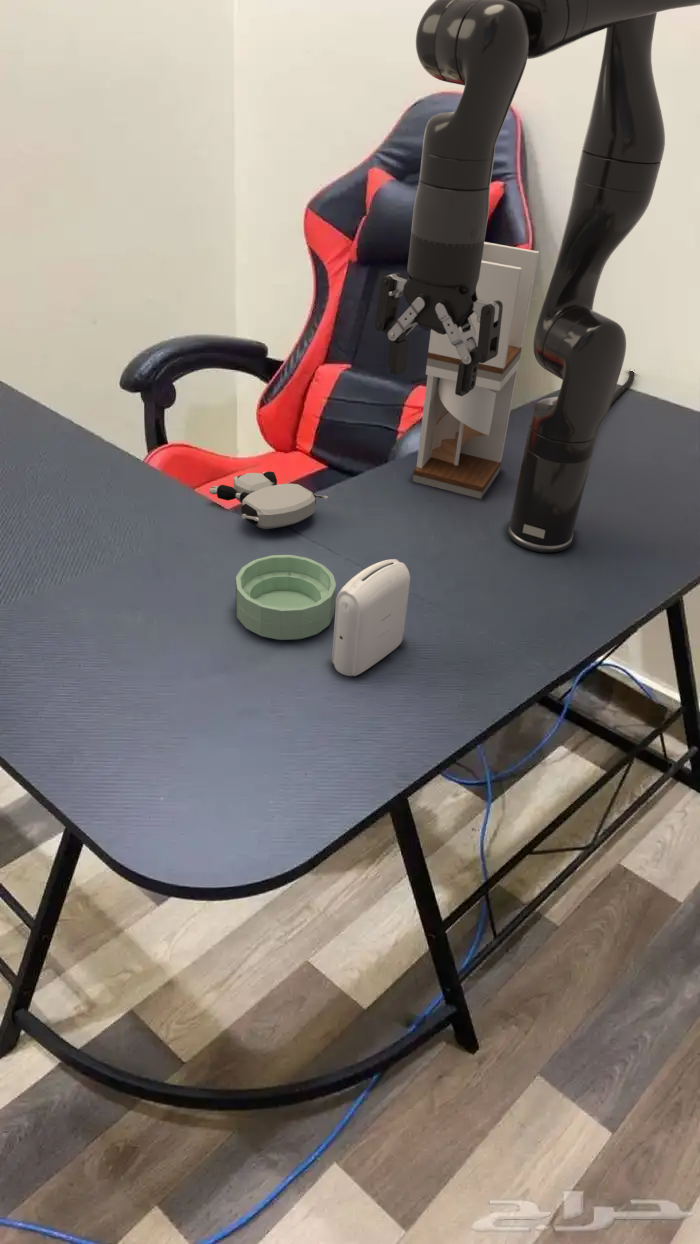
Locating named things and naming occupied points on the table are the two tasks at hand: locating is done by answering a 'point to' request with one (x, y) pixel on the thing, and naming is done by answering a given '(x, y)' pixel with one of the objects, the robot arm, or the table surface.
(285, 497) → the robot toy
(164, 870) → the table surface
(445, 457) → the white tower
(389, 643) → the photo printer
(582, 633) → the table surface
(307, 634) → the bowl
